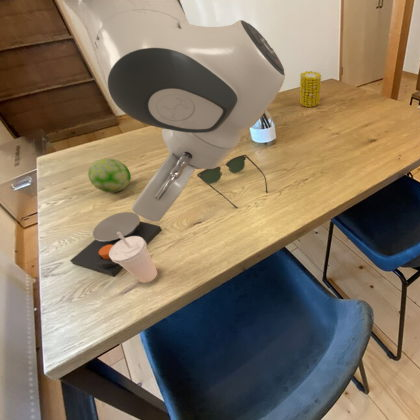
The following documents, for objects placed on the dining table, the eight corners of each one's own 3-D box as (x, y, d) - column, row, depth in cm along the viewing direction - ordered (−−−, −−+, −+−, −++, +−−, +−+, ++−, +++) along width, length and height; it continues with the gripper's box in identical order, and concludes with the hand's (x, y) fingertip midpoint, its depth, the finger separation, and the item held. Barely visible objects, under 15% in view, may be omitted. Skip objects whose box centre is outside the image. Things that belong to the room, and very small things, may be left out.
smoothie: (155, 288, 59) (122, 246, 49) (126, 288, 59) (87, 245, 49) (168, 263, 63) (141, 220, 54) (141, 263, 63) (108, 220, 54)
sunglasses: (227, 214, 76) (222, 200, 72) (201, 186, 85) (195, 173, 82) (276, 189, 84) (274, 175, 80) (247, 166, 93) (244, 153, 90)
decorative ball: (92, 194, 82) (71, 166, 76) (122, 176, 89) (106, 149, 82) (115, 203, 79) (95, 174, 73) (144, 183, 86) (128, 156, 79)
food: (308, 102, 138) (323, 108, 133) (291, 103, 130) (306, 110, 125) (313, 69, 130) (329, 74, 125) (295, 68, 122) (311, 74, 117)
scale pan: (117, 246, 63) (115, 245, 63) (83, 237, 66) (82, 235, 65) (149, 217, 70) (148, 216, 70) (118, 210, 73) (117, 208, 72)
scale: (114, 277, 61) (106, 269, 59) (73, 264, 63) (65, 256, 61) (162, 229, 71) (157, 221, 69) (125, 220, 74) (119, 212, 72)
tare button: (110, 261, 61) (105, 256, 60) (99, 258, 61) (95, 253, 60) (121, 251, 63) (117, 246, 62) (110, 248, 64) (106, 243, 62)
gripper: (196, 195, 33) (150, 249, 39) (235, 121, 48) (197, 169, 54) (142, 164, 30) (101, 228, 36) (201, 95, 45) (165, 149, 51)
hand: (159, 192), depth 45 cm, fingers open, 5 cm apart
